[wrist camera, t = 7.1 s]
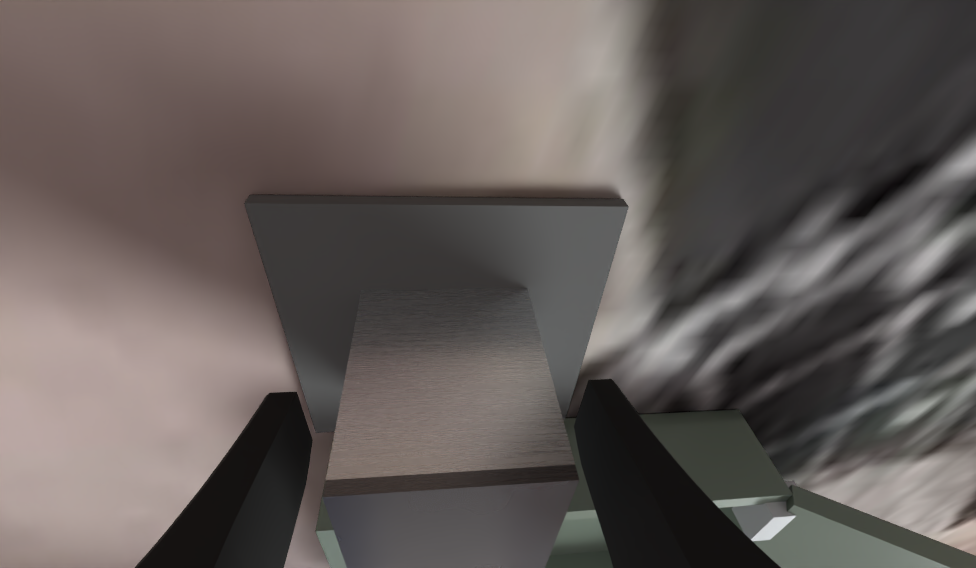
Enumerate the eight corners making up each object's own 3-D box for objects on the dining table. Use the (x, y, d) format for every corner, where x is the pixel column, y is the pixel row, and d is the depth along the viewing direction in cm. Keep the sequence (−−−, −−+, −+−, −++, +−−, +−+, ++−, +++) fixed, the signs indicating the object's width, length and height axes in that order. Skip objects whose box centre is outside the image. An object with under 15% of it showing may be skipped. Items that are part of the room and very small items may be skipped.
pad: (562, 410, 17) (565, 419, 17) (318, 422, 16) (316, 432, 15) (622, 198, 11) (628, 206, 11) (249, 195, 10) (244, 203, 10)
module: (511, 390, 15) (543, 572, 11) (376, 395, 15) (353, 589, 10) (527, 288, 12) (579, 480, 8) (361, 290, 12) (322, 497, 7)
